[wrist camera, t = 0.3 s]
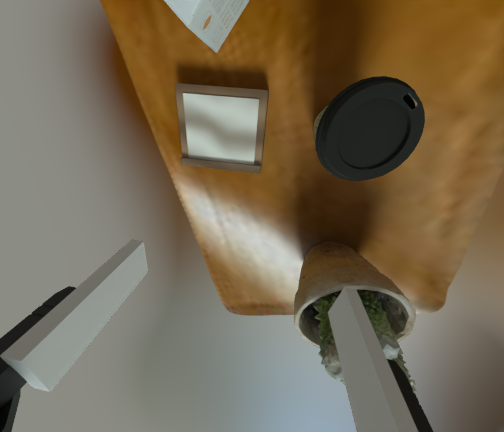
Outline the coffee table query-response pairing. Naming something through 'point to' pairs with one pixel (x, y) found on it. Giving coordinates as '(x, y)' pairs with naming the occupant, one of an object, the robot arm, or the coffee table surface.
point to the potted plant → (370, 292)
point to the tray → (222, 126)
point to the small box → (209, 18)
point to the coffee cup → (369, 128)
